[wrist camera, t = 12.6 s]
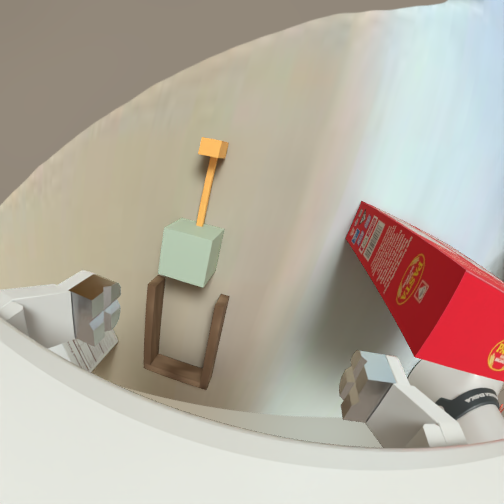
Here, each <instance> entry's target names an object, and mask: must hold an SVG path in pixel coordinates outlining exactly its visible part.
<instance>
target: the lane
mask: <svg viewBox="0 0 504 504" xmlns="http://www.w3.org/2000/svg"><path fill="white" fill-rule="evenodd" d="M164 286H165V277H163V276H160V275H158V276H157V277H155V278H154V279H153V280H152V281H151V282H150V283H149V284H148V289H147V302H146V318H145V338H144V368H145V369H148V370H150V371H153V372H156V373H158V374H161V375H164V376H166V377H169V378H172V379H175V380H178V381H180V382H183V383H186V384H189V385H192V386H196V387H199V388H202V389H205V390H207V387H208V384H209V382H210V379H211V377H212V373H213V368H214V363H215V359H216V354H217V350H218V345H219V341H220V336H221V332H222V327H223V323H224V318H225V314H226V309H227V305H228V300H229V296H226V295H223V294H221V295H220V297H219V299H218V301H217V303H216V304H215V308H214V313H213V318H212V323H211V328H210V333H209V338H208V343H207V349H206V354H205V359H204V364H203V368H199V367H196V366H193V365H190V364H187V363H184V362H181V361H178V360H175V359H172V358H170V357H167V356H164V355H161V354H158V353H159V339H160V326H161V315H162V305H163V295H164Z"/></svg>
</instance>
